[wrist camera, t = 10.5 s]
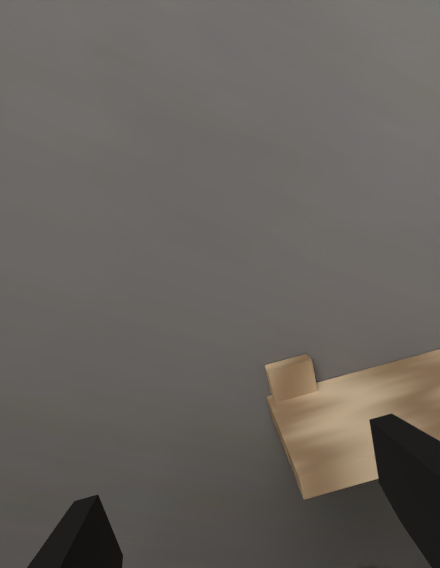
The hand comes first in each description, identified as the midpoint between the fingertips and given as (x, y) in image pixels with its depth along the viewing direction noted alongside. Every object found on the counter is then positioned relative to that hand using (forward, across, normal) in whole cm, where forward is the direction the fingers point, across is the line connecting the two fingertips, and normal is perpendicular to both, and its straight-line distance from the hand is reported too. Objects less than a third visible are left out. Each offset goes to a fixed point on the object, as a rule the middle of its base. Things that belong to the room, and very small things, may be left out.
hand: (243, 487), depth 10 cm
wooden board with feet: (+10, -9, +5) cm, 15 cm away
